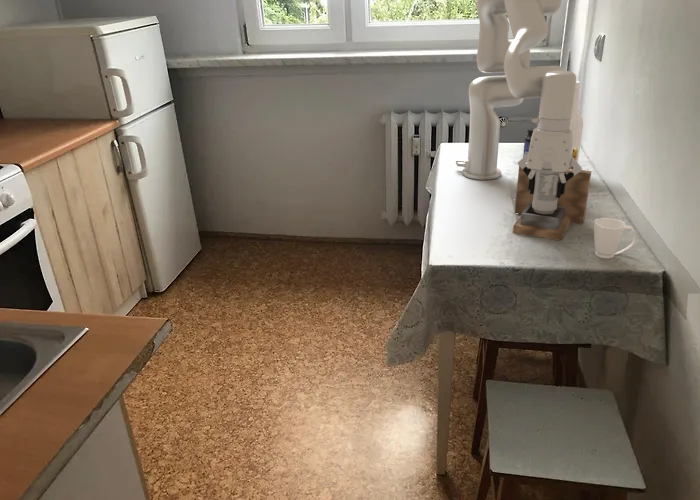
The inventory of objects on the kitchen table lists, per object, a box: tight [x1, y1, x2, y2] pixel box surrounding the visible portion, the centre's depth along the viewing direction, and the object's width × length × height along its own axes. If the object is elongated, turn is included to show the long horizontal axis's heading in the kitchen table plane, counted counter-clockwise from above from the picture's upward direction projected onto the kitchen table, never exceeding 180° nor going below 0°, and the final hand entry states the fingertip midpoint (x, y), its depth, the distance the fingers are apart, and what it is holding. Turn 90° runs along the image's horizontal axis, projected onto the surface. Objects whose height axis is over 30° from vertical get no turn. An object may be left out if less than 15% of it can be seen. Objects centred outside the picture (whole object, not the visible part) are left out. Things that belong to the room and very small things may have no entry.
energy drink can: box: [532, 161, 560, 214], centre depth 147 cm, size 6×6×15 cm
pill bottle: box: [522, 127, 536, 158], centre depth 204 cm, size 6×6×11 cm
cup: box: [593, 217, 638, 260], centre depth 135 cm, size 7×10×8 cm
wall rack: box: [512, 165, 592, 241], centre depth 150 cm, size 18×15×14 cm
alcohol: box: [570, 80, 584, 164], centre depth 183 cm, size 9×9×30 cm
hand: (545, 193), depth 148 cm, fingers closed on energy drink can, 6 cm apart
